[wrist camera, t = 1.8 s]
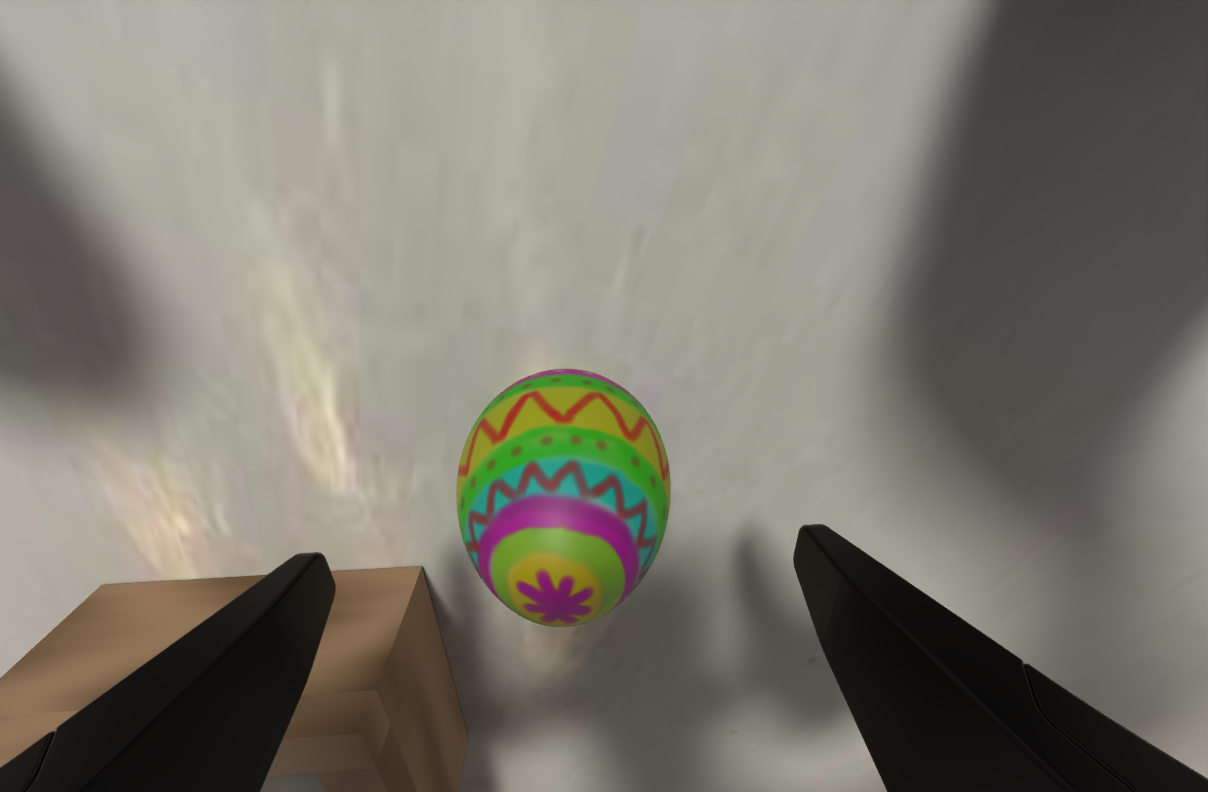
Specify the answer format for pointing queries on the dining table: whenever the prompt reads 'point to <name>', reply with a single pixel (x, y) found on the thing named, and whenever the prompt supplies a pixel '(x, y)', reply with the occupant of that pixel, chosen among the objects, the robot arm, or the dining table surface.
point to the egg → (563, 496)
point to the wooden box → (328, 703)
